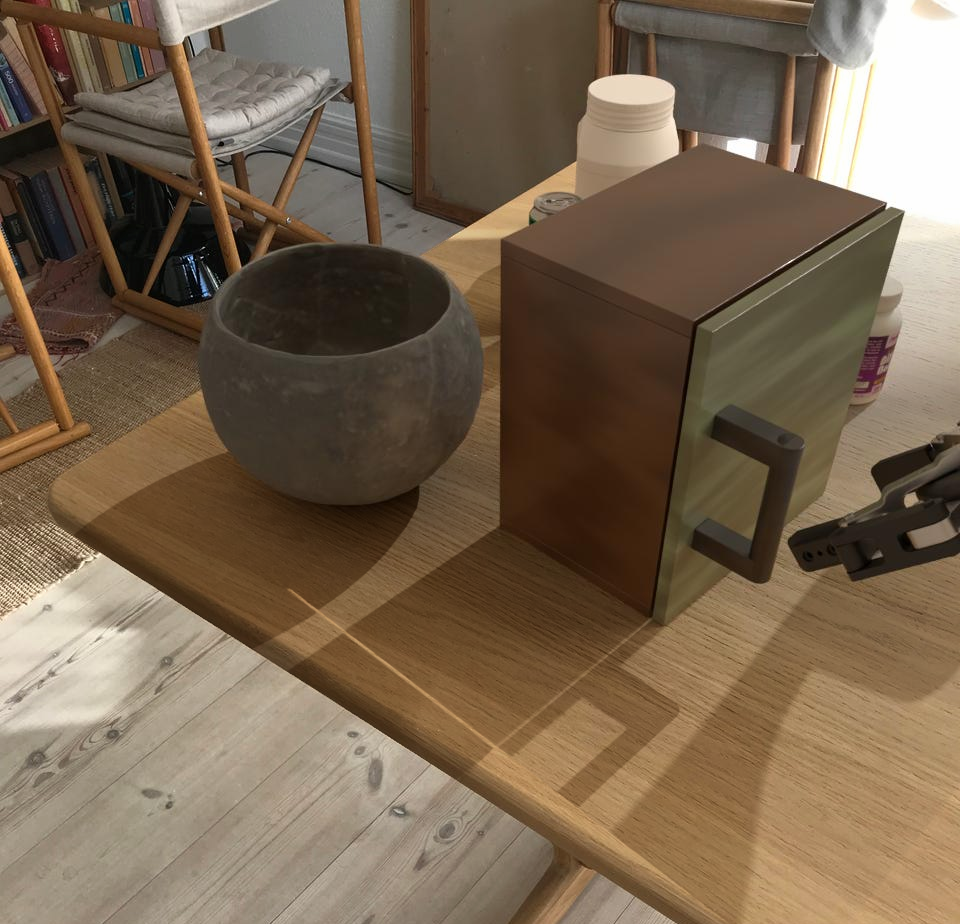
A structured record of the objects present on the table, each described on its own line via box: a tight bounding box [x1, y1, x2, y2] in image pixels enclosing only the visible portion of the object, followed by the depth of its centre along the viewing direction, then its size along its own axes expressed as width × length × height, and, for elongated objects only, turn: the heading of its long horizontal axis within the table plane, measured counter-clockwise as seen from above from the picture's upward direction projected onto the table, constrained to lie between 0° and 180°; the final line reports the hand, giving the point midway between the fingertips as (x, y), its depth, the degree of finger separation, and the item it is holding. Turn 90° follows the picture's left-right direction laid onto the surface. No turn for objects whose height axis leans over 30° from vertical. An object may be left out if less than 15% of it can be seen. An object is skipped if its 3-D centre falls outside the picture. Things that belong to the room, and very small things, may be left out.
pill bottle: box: [850, 275, 905, 406], centre depth 86 cm, size 5×5×10 cm
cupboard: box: [499, 142, 888, 618], centre depth 71 cm, size 14×20×22 cm
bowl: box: [197, 241, 485, 506], centre depth 77 cm, size 20×20×15 cm
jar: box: [574, 73, 680, 200], centre depth 104 cm, size 12×10×15 cm
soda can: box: [528, 191, 583, 226], centre depth 92 cm, size 5×5×12 cm
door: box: [651, 206, 906, 627], centre depth 65 cm, size 6×20×22 cm, turn 135°
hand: (839, 516), depth 57 cm, fingers open, 8 cm apart
